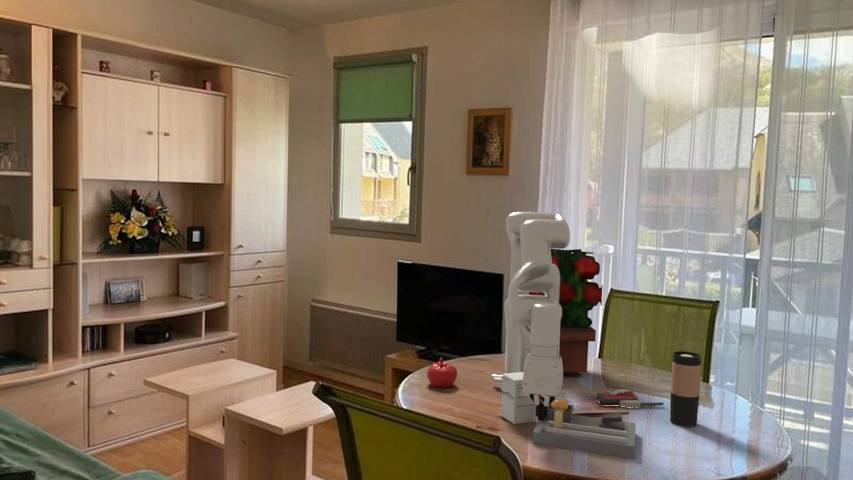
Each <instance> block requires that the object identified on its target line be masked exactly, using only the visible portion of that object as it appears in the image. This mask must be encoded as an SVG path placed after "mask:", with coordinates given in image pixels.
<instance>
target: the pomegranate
mask: <svg viewBox="0 0 853 480" xmlns="http://www.w3.org/2000/svg"><path fill="white" fill-rule="evenodd" d="M448 362H449V361H444V359H443V358H442V357H440V358H439V360H438V361H436V362H432V364H431V366H430V367H429V368H428V370H427V373H426V376H427V379H428V381H429V384H430V385H431V386H432V387H435V388H450V387H452V386H453V385H454V384H455V382H456V381H457V377H458V370H457V368H456V367H454V365H453V363H450V362H449V363H448Z"/></svg>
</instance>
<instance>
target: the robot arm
mask: <svg viewBox="0 0 853 480" xmlns="http://www.w3.org/2000/svg"><path fill="white" fill-rule="evenodd" d="M505 229H506V233H507V238H508V240H509V243H510V247H511V256H510V257H511V258H510V259H511V260H510V276H509V277H510V283H509V286H508V292H507V298H506V300H504V307H503V308H504V317H505V352H504V353H505V355H504V374H506V373H516V372H524V373H523V386H522V387H523V391H522V394H523V395H525V396H527V397H530V398H531V399H532V400H533V401H534V403H535V417H537V422H538V421H540V420H542V421H544V420H545V417H548V405H549V404H550V403H552V402H553V401H554V400H562V399H564V392H563V390H564V376H563V366H562V359H561V356H559V341H560V320H561V317H562V307H561V305H560V304H559V295H560V272H559V269H558V267H557V266H556V265H554V264H552V258H551V249H566V248H567V247H568V246H569V245H570V241H571V232H570V226H569V223H568V221H566V219H565V218H564V217H563V216H562V215H561V214H560V213H558V212H539V211H538V212H537V211H517V212H515V211H514V212H512V213H509V214H508V215H507V216H506V220H505ZM519 292H528V293H529V292H543V293H545V296H542V295H529V294H519ZM528 326H530V328H529V327H528ZM502 376H503V374H501V375H498V374H492V375H491V381H493V383H500V384H499V387H498V388H499V390H500V391H501V392H502ZM541 396H543V397H544V401H543V402H542V398H541Z"/></svg>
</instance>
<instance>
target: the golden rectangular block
mask: <svg viewBox="0 0 853 480" xmlns="http://www.w3.org/2000/svg"><path fill="white" fill-rule="evenodd" d="M563 420H564V408H561V407H556V409H555V416H554V428H560V429H562V428H563Z"/></svg>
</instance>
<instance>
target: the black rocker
mask: <svg viewBox="0 0 853 480" xmlns="http://www.w3.org/2000/svg"><path fill="white" fill-rule="evenodd" d="M601 418H602V422H603V423H607V422H622V421H623V413H602V416H601Z"/></svg>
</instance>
